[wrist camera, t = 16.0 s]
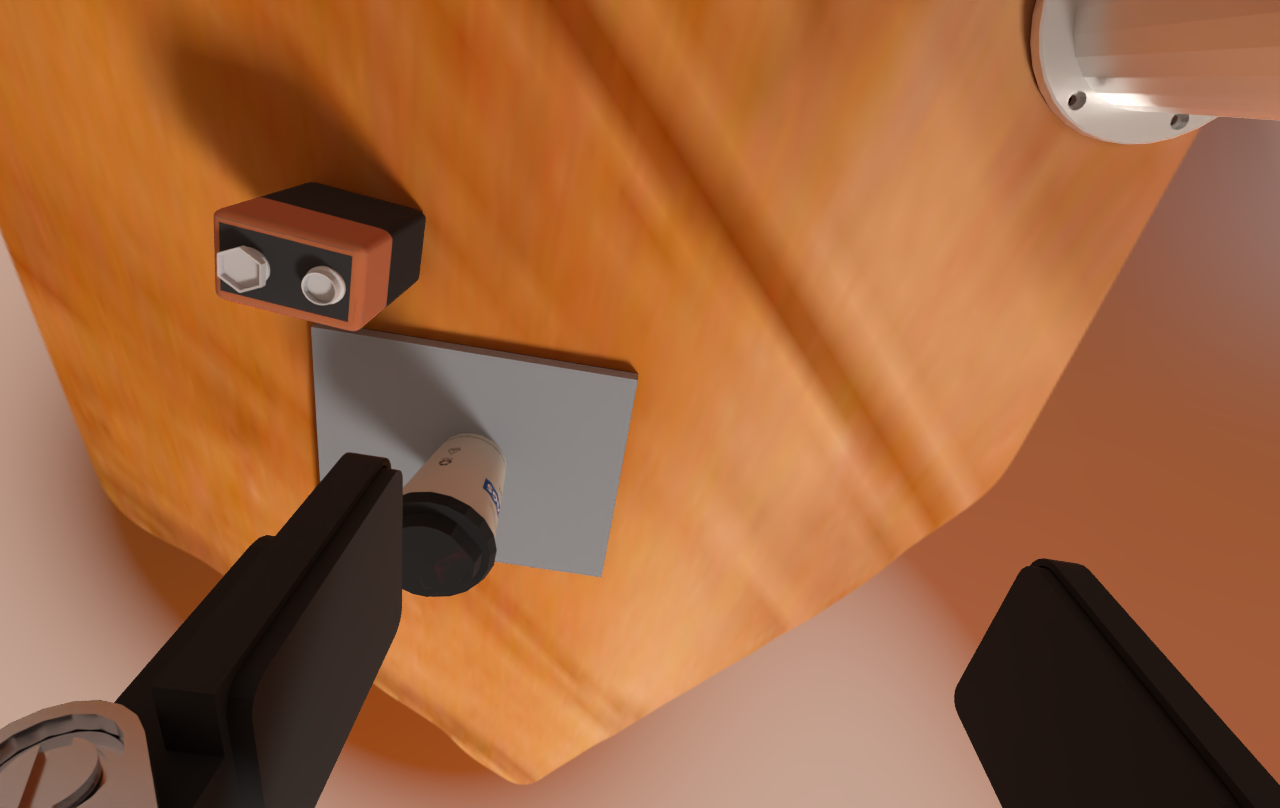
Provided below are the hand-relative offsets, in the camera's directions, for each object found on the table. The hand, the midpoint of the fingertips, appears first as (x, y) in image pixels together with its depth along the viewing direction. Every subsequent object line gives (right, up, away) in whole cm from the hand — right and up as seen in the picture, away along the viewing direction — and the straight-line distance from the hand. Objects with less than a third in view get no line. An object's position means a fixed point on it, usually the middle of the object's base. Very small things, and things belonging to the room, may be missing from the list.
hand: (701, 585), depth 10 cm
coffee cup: (-12, -1, +34) cm, 36 cm away
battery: (-17, +13, +28) cm, 35 cm away
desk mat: (-12, -1, +34) cm, 37 cm away
